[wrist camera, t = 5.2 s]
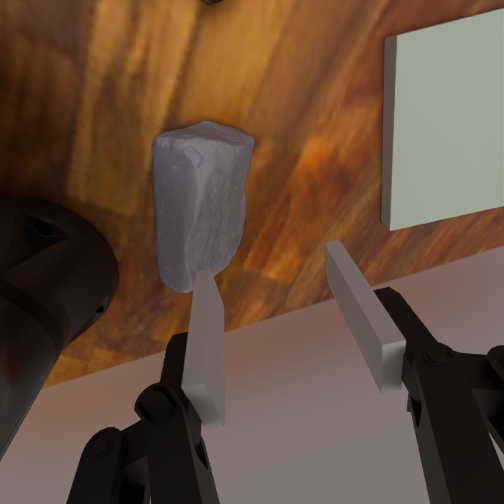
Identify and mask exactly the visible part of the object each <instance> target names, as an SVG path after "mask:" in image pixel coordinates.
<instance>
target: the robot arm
mask: <svg viewBox="0 0 504 504" xmlns="http://www.w3.org/2000/svg"><path fill="white" fill-rule="evenodd" d="M324 248H325V258H326V268H327V278H328V285H329V287H330V289H331V291H332V293H333V295H334V297H335V299H336V301H337V303H338V305H339V307H340V309H341V312H342V314H343V316H344V318H345V320H346V322H347V324H348V326H349V328H350V330H351V332H352V334H353V337H354V339H355V340H356V343H357V345H358V347H359V349H360V351H361V353H362V355H363V357H364V359H365V361H366V363H367V365H368V368H369V370H370V372H371V374H372V376H373V378H374V380H375V382H376V384H377V386H378V388H379V391H380V392H381V393H386V392H391V391H396V390H400V389H401V388H402V381H403V383H404V384H405V386H406V388H407V390H408V392H409V393H408V402H407V411H408V412H410V410H411V415H412V420H413V424H414V429H415V434H416V439H417V443H418V448H419V453H420V458H421V462H422V467H423V472H424V476H425V481H426V486H427V491H428V495H429V500H430V504H504V470H503V468H502V465H501V463H500V460H499V458H498V455H497V453H496V450H495V448H494V445H493V443H492V440H491V438H490V435H489V433H490V434H491V436H492V437H493V439H494V440H495V442H496V444H497V445H498V447H499V448H500V450H501V451H502V452H503V454H504V345H499V346H496V347H493V348H491V349H490V351H489V352H488V354H487V355H482V354H467V353H459V352H456V351H453V350H452V349H451V348H450V347H448V346H447V345H444V344H442V343H439V342H437V340H435V338H434V337H433V336H432V334H431V333H430V332H429V331H428V329H427V328H426V327H425V325H424V324H423V323H422V322H421V320H420V319H419V318H418V316H417V315H416V314H415V313H414V312H413V311H412V309H411V307H410V306H409V305H408V304H407V302H406V301H405V300H404V298H403V297H402V296H401V294H400V293H398V292H396V291H395V290H393V289H391V288H390V287H386V288H382V289H377V290H372V288H371V287H370V285H369V284H368V282H367V281H366V279H365V278H364V276H363V275H362V273H361V272H360V270H359V269H358V267H357V266H356V264H355V263H354V261H353V260H352V258H351V257H350V255H349V254H348V252H347V251H346V249H345V248H344V246H343V245H342V243H341V242H340V240H339V239H337V240H333V241H329V242H324ZM117 285H118V269H117V265H116V262H115V259H114V256H113V254H112V252H111V251H110V249H109V247H108V246H107V244H106V243H105V241H104V240H103V239H102V238H101V237H100V236H99V234H98V233H97V232H96V231H95V230H93V229H92V228H91V227H90V226H89V225H88V224H86V223H85V222H84V221H82V220H81V219H80V218H78V217H77V216H75V215H73V214H72V213H70V212H68V211H66V210H64V209H62V208H60V207H57V206H55V205H52V204H50V203H46V202H43V201H40V200H36V199H31V198H24V197H0V461H1V459H2V457H3V456H4V453H5V452H6V450H7V448H8V447H9V445H10V443H11V441H12V439H13V438H14V436H15V434H16V433H17V431H18V429H19V427H20V425H21V424H22V422H23V420H24V418H25V417H26V415H27V413H28V411H29V410H30V408H31V406H32V404H33V402H34V401H35V399H36V397H37V395H38V394H39V392H40V390H41V388H42V386H43V385H44V383H45V381H46V379H47V378H48V376H49V374H50V372H51V371H52V369H53V367H54V365H55V363H56V361H57V360H58V358H59V356H60V355H61V353H62V351H63V350H64V349H65V348H67V347H68V346H69V345H70V344H71V343H72V342H73V341H75V340H76V339H77V338H78V337H79V336H80V335H81V334H83V333H84V332H85V331H86V330H87V329H88V328H90V327H91V326H92V325H93V324H94V323H95V322H96V321H98V320H99V319H100V318H101V317H102V315H103V314H104V313H105V311H106V310H107V308H108V307H109V305H110V303H111V301H112V299H113V296H114V294H115V292H116V289H117ZM224 373H225V372H224V305H223V303H222V300H221V297H220V294H219V291H218V289H217V286H216V283H215V280H214V278H213V275H212V272H211V269H205V270H201V271H197V272H196V275H195V283H194V291H193V299H192V307H191V315H190V323H189V331H188V332H184V333H180V334H175V335H173V336H172V338H171V340H170V341H169V343H168V344H167V348H166V353H165V358H164V366H163V369H162V374H161V379H160V382H158V383H155V384H152V385H150V386H149V387H147V388H146V389H145V390H144V391H143V392H142V393H141V394H140V395H139V397H138V399H137V401H136V402H135V408H134V411H135V412H136V413H137V414H138V416H139V417H140V418H141V420H140V421H138V422H137V423H135V424H133V425H131V426H129V427H128V428H126V429H124V430H122V431H120V430H119V429H117V428H115V427H107V428H105V429H102V430H100V431H99V432H98V433H96V434H95V435H94V436H93V437H92V438H91V439H90V440H89V442H88V443H87V444H86V446H85V448H84V450H83V452H82V455H81V458H80V461H79V464H78V468H77V471H76V475H75V477H74V481H73V484H72V487H71V490H70V494H69V497H68V500H67V503H66V504H150V496H151V504H220V503H219V499H218V495H217V491H216V488H215V483H214V479H213V475H212V471H211V467H210V463H209V459H208V455H207V451H206V447H205V443H204V440H203V438H202V436H201V422H202V424H203V426H204V428H205V429H210V428H215V427H219V426H224V425H225V377H224V376H225V374H224ZM488 431H489V432H488Z"/></svg>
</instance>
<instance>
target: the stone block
mask: <svg viewBox="0 0 504 504" xmlns="http://www.w3.org/2000/svg"><path fill="white" fill-rule="evenodd" d="M253 148H254V139H253V137H252V136H250V135H248V134H245V133H244V132H241V131H240V130H238V129H235V128H232V127H229V126H225V125H222V124H216V123H215V122H210V121H206V120H204V121H201V122H199V123H197V124H194V125H191V126H190V127H187V128H183V129H176V130H172V131H169V132H163V133H161V134H159V135H157V136H155V138H154V140H153V143H152V168H153V200H154V207H155V208H154V219H155V231H156V241H157V244H156V261H157V268H158V274H159V277H160V280H161V281H162V282H163V283H164V284H165V286H167V287H168V288H170V289H171V290H173V291H175V292H180V293H189V292H190V291H193V290H194V283H195V275H196V272H197V271H201V270H205V269H211V272H212V275H213V277H214V276H216V275H217V274H218V273H219V272H220V271H222V270H223V269H224V268H225V267H227V266H228V265H229V263H230V261H231V259H232V257H233V256H234V255H235V253H236V251H237V248H238V246H239V244H240V242H241V238H242V236H243V230H244V220H245V216H246V206H247V205H246V195H245V191H244V187H245V183H246V178H247V175H248V171H249V164H250V161H251V156H252V151H253Z"/></svg>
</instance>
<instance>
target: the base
mask: <svg viewBox="0 0 504 504" xmlns="http://www.w3.org/2000/svg"><path fill="white" fill-rule="evenodd" d="M501 206H504V7H503V8H500V9H496V10H492V11H488V12H484V13H480V14H476V15H472V16H468V17H464V18H460V19H456V20H452V21H448V22H445V23H441V24H437V25H433V26H429V27H425V28H421V29H417V30H413V31H409V32H405V33H401V34H397V35H393V36H390V37H386V38H385V40H384V94H383V148H382V203H381V222H382V223H383V224H384V225H385V226H386V227H387V228H388V229H389V230H390V231H392V230H397V229H401V228H406V227H410V226H415V225H419V224H424V223H428V222H433V221H437V220H442V219H446V218H451V217H455V216H460V215H464V214H469V213H473V212H478V211H483V210H487V209H492V208H496V207H501Z"/></svg>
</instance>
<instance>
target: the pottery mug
mask: <svg viewBox="0 0 504 504" xmlns="http://www.w3.org/2000/svg"><path fill="white" fill-rule="evenodd" d="M202 1H203V2H205V3H206V4H208V5H211V4H214V3H217V2H220V1H222V0H202Z"/></svg>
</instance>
